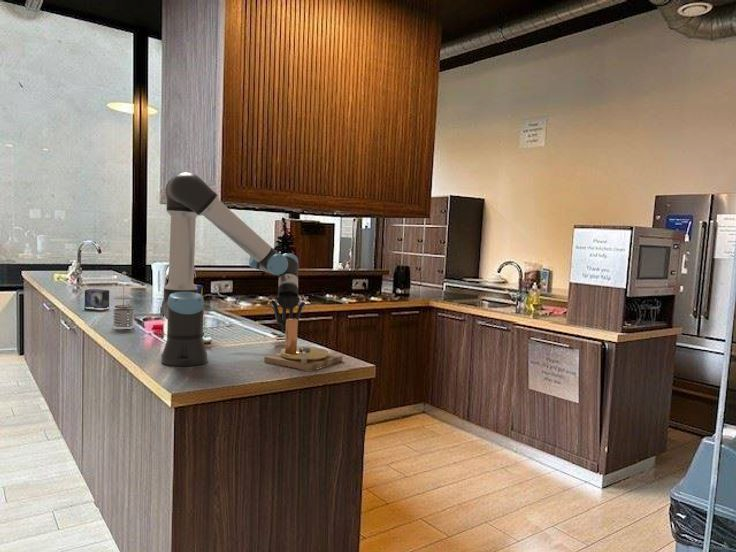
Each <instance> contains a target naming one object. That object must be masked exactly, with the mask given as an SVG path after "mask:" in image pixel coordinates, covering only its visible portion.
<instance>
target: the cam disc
mask: <svg viewBox="0 0 736 552" xmlns="http://www.w3.org/2000/svg"><path fill="white" fill-rule="evenodd" d="M298 323H299V320H298V319H295V318H294V317H293V318H289V317H288V318H286V340H285V339H284V343H285V344H284V345H285V346H284V348H281V349H280V353H281V354H280V355H281V357H283V358H286V359H290V360H297V361H301V353H304V354H307V361H316V360H322V359H326V358H327V357H328V353H329V350H327V349H324V348H321V347H316V346H304V345H301V346H298Z"/></svg>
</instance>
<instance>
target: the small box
mask: <svg viewBox="0 0 736 552" xmlns="http://www.w3.org/2000/svg"><path fill="white" fill-rule="evenodd" d="M85 307H94V308H107V307H109V308H110V290H109V289H99V288H90V289H85V290H84V308H85Z"/></svg>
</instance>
